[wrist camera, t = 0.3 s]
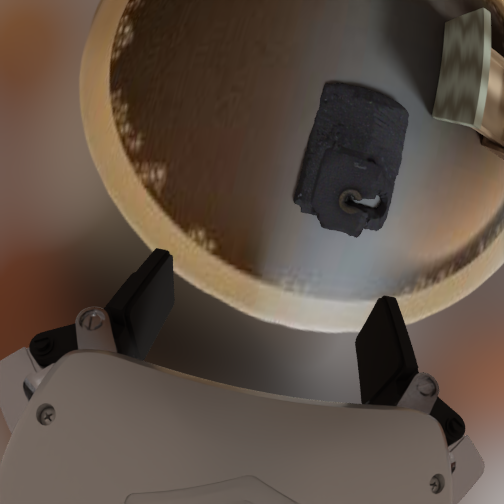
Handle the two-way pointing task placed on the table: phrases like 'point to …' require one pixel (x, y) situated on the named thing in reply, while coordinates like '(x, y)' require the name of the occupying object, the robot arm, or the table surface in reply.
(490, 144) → the walnut box
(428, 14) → the table surface
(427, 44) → the table surface
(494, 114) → the pull-out wooden drawer
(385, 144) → the black tote bag
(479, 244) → the table surface
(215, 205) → the table surface
